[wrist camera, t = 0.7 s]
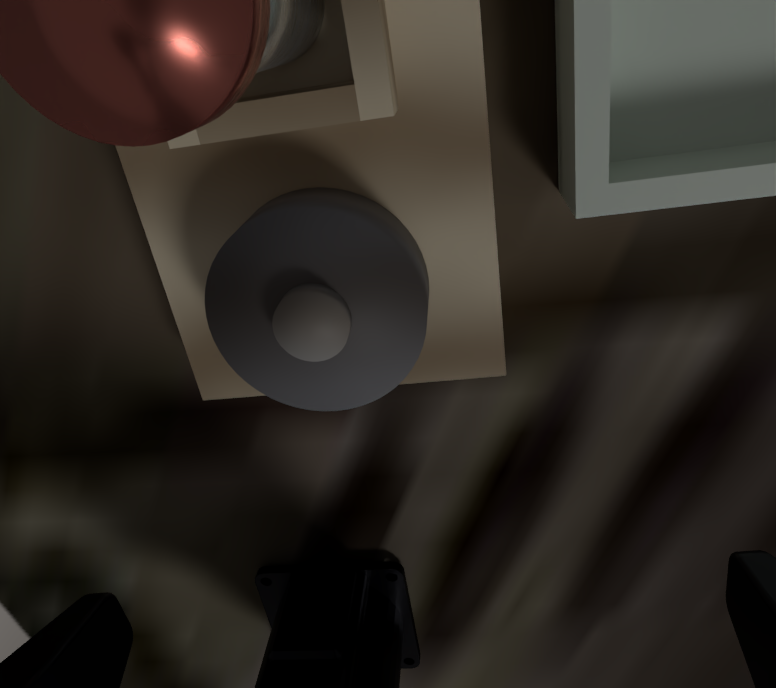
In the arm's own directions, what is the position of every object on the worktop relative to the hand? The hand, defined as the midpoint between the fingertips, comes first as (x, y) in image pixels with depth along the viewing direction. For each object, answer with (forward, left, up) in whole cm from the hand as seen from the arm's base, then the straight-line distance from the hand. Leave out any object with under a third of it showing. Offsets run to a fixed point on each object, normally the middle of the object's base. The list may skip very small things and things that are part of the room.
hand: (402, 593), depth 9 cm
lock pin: (+8, +3, -10) cm, 14 cm away
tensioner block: (+4, +3, -12) cm, 13 cm away
